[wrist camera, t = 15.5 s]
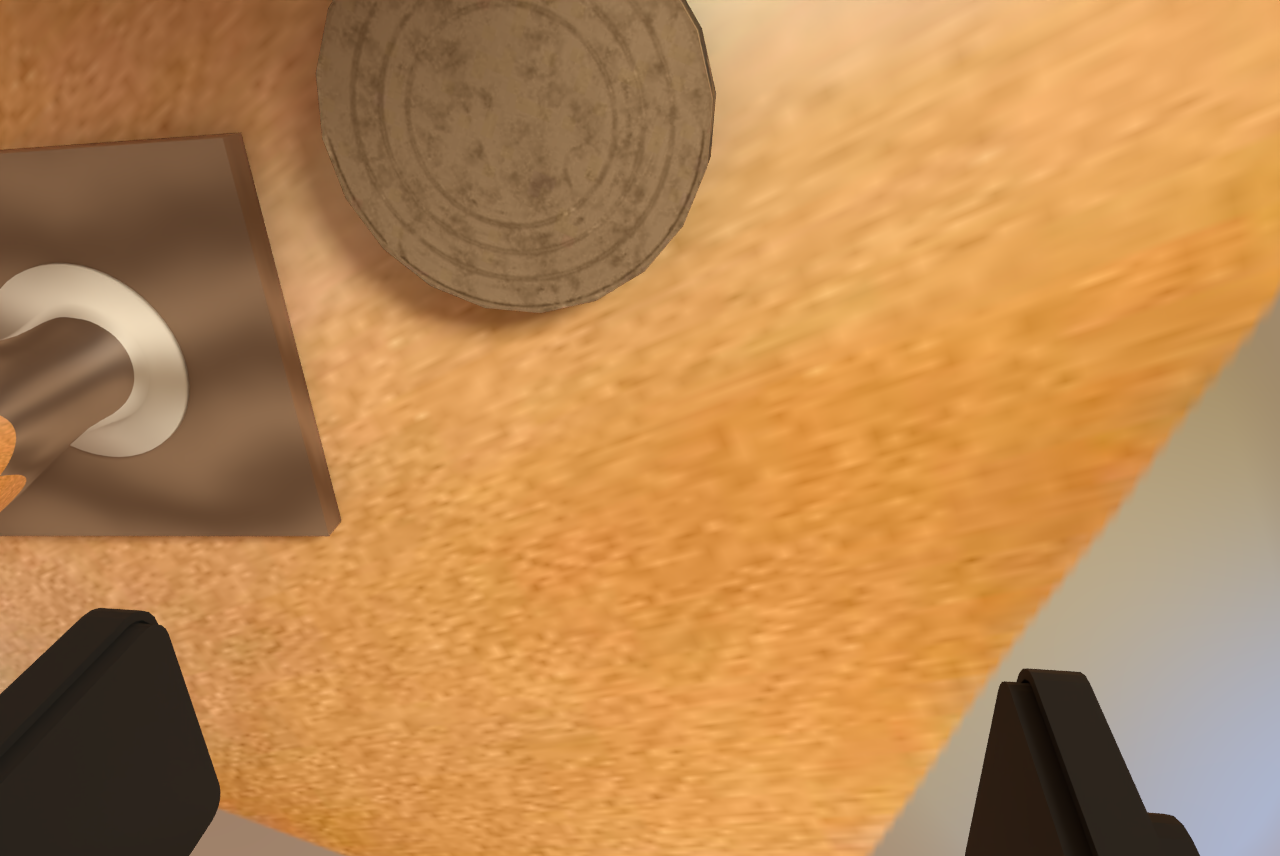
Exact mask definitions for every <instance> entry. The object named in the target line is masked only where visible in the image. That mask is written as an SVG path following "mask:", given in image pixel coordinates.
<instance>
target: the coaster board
mask: <svg viewBox="0 0 1280 856" xmlns="http://www.w3.org/2000/svg"><path fill="white" fill-rule="evenodd" d="M66 303H75V304H82V305H87V306H90V307H93V308H96V309H98V310H100V311H102V312H104V313H106V314H108V315H109V316H111V317H112V318H114V319H115V320H116V321H118V322H119V323H120V324H121V325H122V326H124V327H125V328H126V329H127V330H128V332H129V333H130V334H131V335H132V336H133V337H134V339H135V340H136V342H137V343H138V345H139V346H140V348H141V350H142V352H143V354H144V356H145V359H146V361H147V365H148V369H149V376H150V385H149V391H148V394H147V397H146V399H145V401H144V403H143V404H142V406H141V407H140V408H139V409H138V410H137V411H136V412H135V413H133V414H132V415H130V416H128V417H127V418H124V419H122V420H119V421H116V422H113V423H110V424H107V425H105V426H102V427H99V428H97V429H95V430H92V431H90V432H88V433H87V434H85V435H83V436H82V437H80V438H79V439H77V440H76V441H75V442H73V443H72V444H71V445H69V446H68V447H67V448H66V449H65V450H64V451H63V452H62V453H61V454H60V455H59V456H58V457H57V458H56V459H55V460H54V461H53V462H52V463H51V464H50V465H49V466H48V467H47V468H46V469H45V470H44V471H43V472H42V473H41V474H40V475H39V476H38V477H37V478H36V479H35V480H34V481H33V482H32V483H31V484H30V485H29V486H28V487H27V488H26V489H25V490H24V491H23V492H22V493H21V494H20V495H19V496H18V497H17V498H16V499H15V500H14V501H12V502H11V503H10V504H9V505H8V506H7V507H6V508H5V509H3V510H2V511H1V512H0V536H330V534H331V533H332V532H333V531H334V529H335V528H336V527H337V526H338V525H339V523H340V522H341V518H340V514H339V510H338V506H337V502H336V498H335V494H334V491H333V487H332V483H331V479H330V475H329V471H328V467H327V464H326V460H325V456H324V452H323V448H322V444H321V440H320V437H319V433H318V429H317V425H316V421H315V417H314V413H313V410H312V406H311V402H310V398H309V394H308V390H307V386H306V382H305V379H304V375H303V371H302V367H301V363H300V359H299V355H298V352H297V348H296V344H295V340H294V336H293V332H292V328H291V325H290V321H289V317H288V313H287V309H286V305H285V301H284V297H283V294H282V290H281V286H280V282H279V278H278V274H277V270H276V267H275V263H274V259H273V255H272V251H271V247H270V243H269V240H268V236H267V232H266V228H265V224H264V220H263V216H262V213H261V209H260V205H259V201H258V197H257V193H256V189H255V185H254V182H253V178H252V174H251V170H250V166H249V162H248V158H247V155H246V151H245V147H244V143H243V139H242V135H241V133H230V134H216V135H203V136H189V137H175V138H161V139H147V140H133V141H119V142H105V143H91V144H78V145H64V146H50V147H36V148H22V149H8V150H0V339H3V338H5V337H7V336H8V335H10V334H12V333H13V332H15V331H17V330H18V329H19V328H20V327H22V326H23V325H24V324H26V323H27V322H28V321H29V320H31V319H32V318H33V317H35V316H36V315H37V314H39V313H40V312H42V311H43V310H45V309H47V308H49V307H52V306H55V305H59V304H66Z"/></svg>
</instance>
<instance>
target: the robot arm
mask: <svg viewBox="0 0 1280 856" xmlns="http://www.w3.org/2000/svg"><path fill="white" fill-rule="evenodd" d="M219 801H220V786H219V782H218V779H217V776H216V773H215V770H214V767H213V764H212V761H211V758H210V755H209V752H208V749H207V746H206V744H205V741H204V738H203V735H202V732H201V729H200V726H199V723H198V720H197V717H196V714H195V711H194V708H193V705H192V702H191V699H190V696H189V693H188V690H187V687H186V684H185V681H184V678H183V675H182V672H181V669H180V666H179V664H178V661H177V658H176V655H175V652H174V649H173V646H172V643H171V640H170V637H169V634H168V632H167V630H166V629H165V628H164V627H163V626H162V625H158V623H157V621H156V619H155V617H154V616H153V615H151V614H150V613H149V612H145V611H138V610H122V609H107V608H98V609H94V610H91V611H90V612H88V613H87V614H85V615H84V616H83V617H82V618H81V619H80V620H78V621H77V622H76V623H75V624H74V625H73V626H72V627H71V628H70V629H69V630H68V631H67V632H66V633H65V634H64V635H63V636H62V637H60V638H59V639H58V640H57V641H56V642H55V643H54V644H53V645H52V646H51V647H50V648H49V649H48V650H47V651H46V652H45V653H44V654H42V655H41V656H40V657H39V658H38V659H37V660H36V661H35V662H34V663H33V664H32V665H31V666H30V667H29V668H28V669H27V670H26V671H24V672H23V673H22V674H21V675H20V676H19V677H18V678H17V679H16V680H15V681H14V682H13V683H12V684H11V685H10V686H9V687H8V688H6V689H5V690H4V691H3V692H2V693H1V694H0V856H189V855H190V854H191V852H192V851H193V849H194V848H195V846H196V844H197V843H198V841H199V840H200V838H201V837H202V835H203V834H204V832H205V831H206V829H207V827H208V826H209V825H210V823H211V822H212V820H213V818H214V816H215V814H216V811H217V809H218V806H219ZM965 856H1200V855H1199V853H1198V851H1197V848H1196V846H1195V845H1194V842H1193V840H1192V839H1191V837H1190V835H1189V834H1188V832H1187V830H1186V829H1185V827H1184V825H1182V823H1180V822H1179V821H1178V820H1177V819H1176V818H1175V817H1174V816H1171V815H1167V814H1159V813H1147V811H1146V809H1145V806H1144V804H1143V802H1142V800H1141V798H1140V795H1139V793H1138V791H1137V788H1136V786H1135V784H1134V782H1133V780H1132V777H1131V775H1130V773H1129V770H1128V768H1127V766H1126V764H1125V761H1124V759H1123V757H1122V755H1121V752H1120V750H1119V748H1118V746H1117V744H1116V741H1115V739H1114V737H1113V734H1112V732H1111V730H1110V728H1109V725H1108V723H1107V721H1106V719H1105V716H1104V714H1103V712H1102V710H1101V708H1100V705H1099V703H1098V701H1097V698H1096V696H1095V694H1094V692H1093V689H1092V687H1091V685H1090V683H1089V681H1088V680H1087V678H1086V676H1085V675H1084V674H1082V673H1081V672H1071V671H1056V670H1041V669H1022V671H1021V672H1020V673H1019V676H1018V679H1017V682H1002V683H1001V684H1000V686H999V690H998V695H997V699H996V704H995V709H994V714H993V719H992V724H991V729H990V734H989V739H988V743H987V748H986V753H985V758H984V764H983V769H982V774H981V778H980V783H979V788H978V793H977V798H976V803H975V808H974V813H973V818H972V823H971V827H970V833H969V837H968V843H967V847H966V852H965Z"/></svg>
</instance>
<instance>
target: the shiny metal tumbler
mask: <svg viewBox="0 0 1280 856" xmlns="http://www.w3.org/2000/svg"><path fill="white" fill-rule="evenodd" d="M149 385H150V376H149V369H148V365H147V361H146V359H145V356H144V354H143V352H142V350H141V348H140V346H139V345H138V343H137V342H136V340H135V339H134V337H133V336H132V335H131V334H130V333H129V332H128V330H127V329H126V328H125V327H124V326H122V325H121V324H120V323H119V322H118V321H116V320H115V319H114V318H112V317H111V316H109V315H108V314H106V313H104V312H102V311H100V310H98V309H96V308H93V307H90V306H87V305H82V304H75V303H66V304H59V305H55V306H52V307H49V308H47V309H45V310H43V311H42V312H40V313H39V314H37V315H36V316H35V317H33V318H32V319H31V320H29V321H28V322H27V323H26V324H24V325H23V326H22V327H20V328H19V329H18V330H17V331H15V332H13V333H12V334H10V335H8V336H7V337H5V338H3V339H0V512H1V511H2V510H3V509H5V508H6V507H7V506H8V505H9V504H10V503H11V502H12V501H14V500H15V499H16V498H17V497H18V496H19V495H20V494H21V493H22V492H23V491H24V490H25V489H26V488H27V487H28V486H29V485H30V484H31V483H32V482H33V481H34V480H35V479H36V478H37V477H38V476H39V475H40V474H41V473H42V472H43V471H44V470H45V469H46V468H47V467H48V466H49V465H50V464H51V463H52V462H53V461H54V460H55V459H56V458H57V457H58V456H59V455H60V454H61V453H62V452H63V451H64V450H65V449H66V448H67V447H68V446H69V445H71V444H72V443H73V442H75V441H76V440H77V439H79V438H80V437H82V436H83V435H85V434H87V433H88V432H90V431H92V430H95V429H97V428H99V427H102V426H105V425H107V424H110V423H113V422H116V421H119V420H122V419H124V418H127V417H128V416H130V415H132V414H133V413H135V412H136V411H137V410H138V409H139V408H140V407H141V406H142V404H143V403H144V401H145V399H146V397H147V394H148V391H149Z"/></svg>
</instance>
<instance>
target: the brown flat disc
mask: <svg viewBox="0 0 1280 856" xmlns="http://www.w3.org/2000/svg"><path fill="white" fill-rule="evenodd" d="M316 81H317V90H318V100H319V110H320V120H321V130H322V139H323V141H324V144H325V147H326V149H327V152H328V154H329V157H330V159H331V162H332V164H333V167H334V169H335V172H336V175H337V177H338V180H339V182H340V185H341V187H342V190H343V192H344V195H345V197H346V199H347V201H348V202H349V203H350V205H351V206H352V207H353V209H354V210H355V212H356V213H357V214H358V216H359V217H360V218H361V220H362V221H363V222H364V224H365V225H366V226H367V228H368V229H369V230H370V232H371V233H372V234H373V236H374V237H375V238H376V240H377V241H378V242H379V244H380V245H381V246H382V248H383V249H384V250H385V251H387V252H388V253H389V254H390V255H392V256H393V257H394V258H396V259H397V260H398V261H399V262H401V263H402V264H403V265H405V266H406V267H407V268H408V269H410V270H411V271H412V272H413V273H415V274H416V275H417V276H419V277H420V278H421V279H422V280H424V281H425V282H426V283H428V284H429V285H430V286H432V287H434V288H437V289H439V290H442V291H444V292H447V293H449V294H452V295H454V296H456V297H459V298H461V299H464V300H466V301H469V302H471V303H474V304H476V305H479V306H481V307H484V308H491V309H502V310H513V311H524V312H535V313H544V312H548V311H553V310H557V309H561V308H566V307H570V306H575V305H579V304H584V303H588V302H593V301H596V300H598V299H600V298H601V297H603V296H604V295H606V294H608V293H609V292H611V291H613V290H614V289H616V288H618V287H619V286H621V285H623V284H624V283H626V282H628V281H629V280H631V279H633V278H634V277H636V276H638V275H639V274H641V273H643V272H644V271H645V270H646V269H647V268H648V267H649V265H650V264H651V263H652V262H653V261H654V260H655V258H656V257H657V256H658V255H659V254H660V252H661V251H662V250H663V249H664V248H665V247H666V245H667V244H668V243H669V242H670V241H671V240H672V238H673V237H674V236H675V235H676V234H677V232H678V231H679V230H680V229H681V228H682V227H683V225H684V222H685V220H686V217H687V215H688V212H689V210H690V208H691V205H692V203H693V200H694V198H695V195H696V193H697V190H698V188H699V185H700V183H701V181H702V178H703V176H704V173H705V171H706V168H707V166H708V163H709V160H710V157H711V147H712V135H713V123H714V111H715V99H716V91H715V87H714V82H713V77H712V73H711V68H710V64H709V59H708V55H707V50H706V45H705V41H704V36H703V32H702V28H701V26H700V24H699V23H698V21H697V19H696V17H695V16H694V14H693V12H692V10H691V8H690V7H689V5H688V3H687V1H686V0H333V1H332V3H331V5H330V6H329V8H328V13H327V18H326V23H325V28H324V33H323V39H322V44H321V49H320V54H319V59H318V64H317V70H316Z"/></svg>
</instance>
